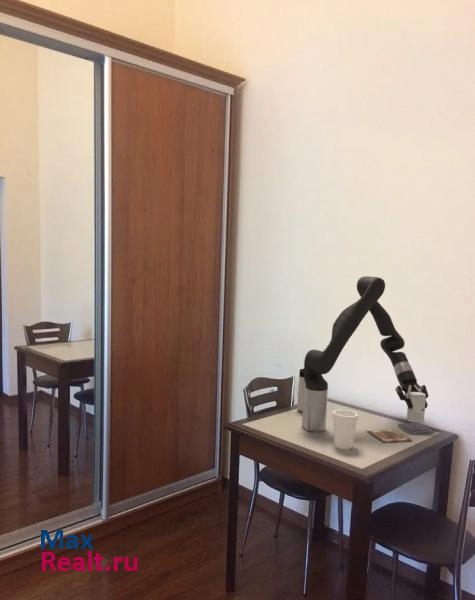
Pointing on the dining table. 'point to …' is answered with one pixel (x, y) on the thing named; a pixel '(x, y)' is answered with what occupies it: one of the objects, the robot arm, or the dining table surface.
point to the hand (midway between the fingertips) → (418, 407)
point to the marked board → (389, 436)
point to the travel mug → (301, 391)
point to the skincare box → (416, 407)
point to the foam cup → (344, 427)
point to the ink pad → (415, 428)
